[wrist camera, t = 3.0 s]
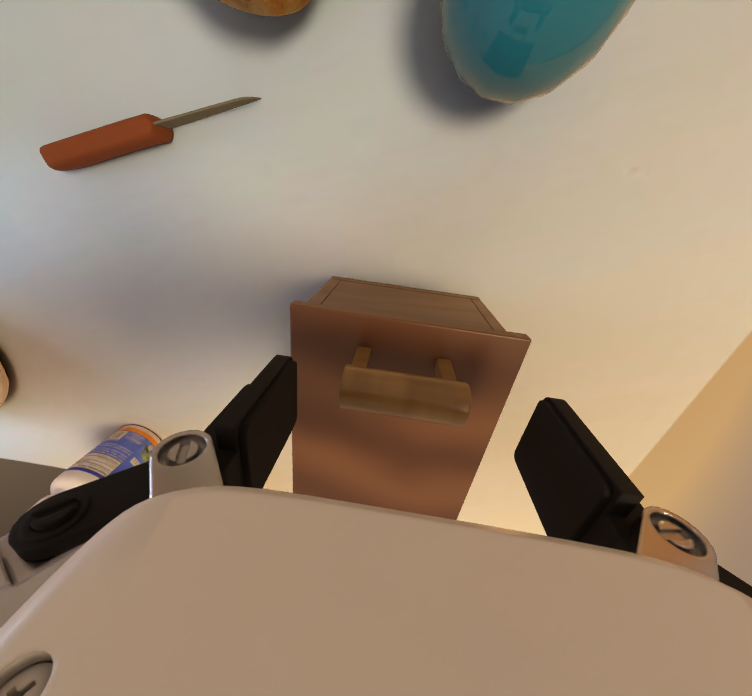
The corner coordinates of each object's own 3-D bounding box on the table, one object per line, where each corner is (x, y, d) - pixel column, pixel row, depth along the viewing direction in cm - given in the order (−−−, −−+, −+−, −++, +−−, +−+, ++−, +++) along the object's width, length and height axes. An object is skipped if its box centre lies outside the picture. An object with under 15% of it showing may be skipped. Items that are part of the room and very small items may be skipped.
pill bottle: (164, 463, 34) (84, 550, 26) (119, 448, 34) (22, 532, 25) (166, 433, 32) (78, 517, 23) (117, 416, 31) (9, 497, 23)
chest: (332, 276, 22) (294, 314, 15) (478, 297, 22) (520, 347, 14) (324, 418, 29) (296, 496, 21) (437, 435, 29) (450, 521, 21)
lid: (294, 299, 14) (249, 339, 10) (526, 333, 14) (580, 389, 10) (296, 497, 21) (269, 569, 17) (450, 522, 21) (462, 601, 17)
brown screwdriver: (72, 173, 21) (41, 170, 19) (60, 151, 20) (27, 146, 18) (271, 116, 18) (257, 106, 16) (263, 89, 18) (247, 75, 16)
